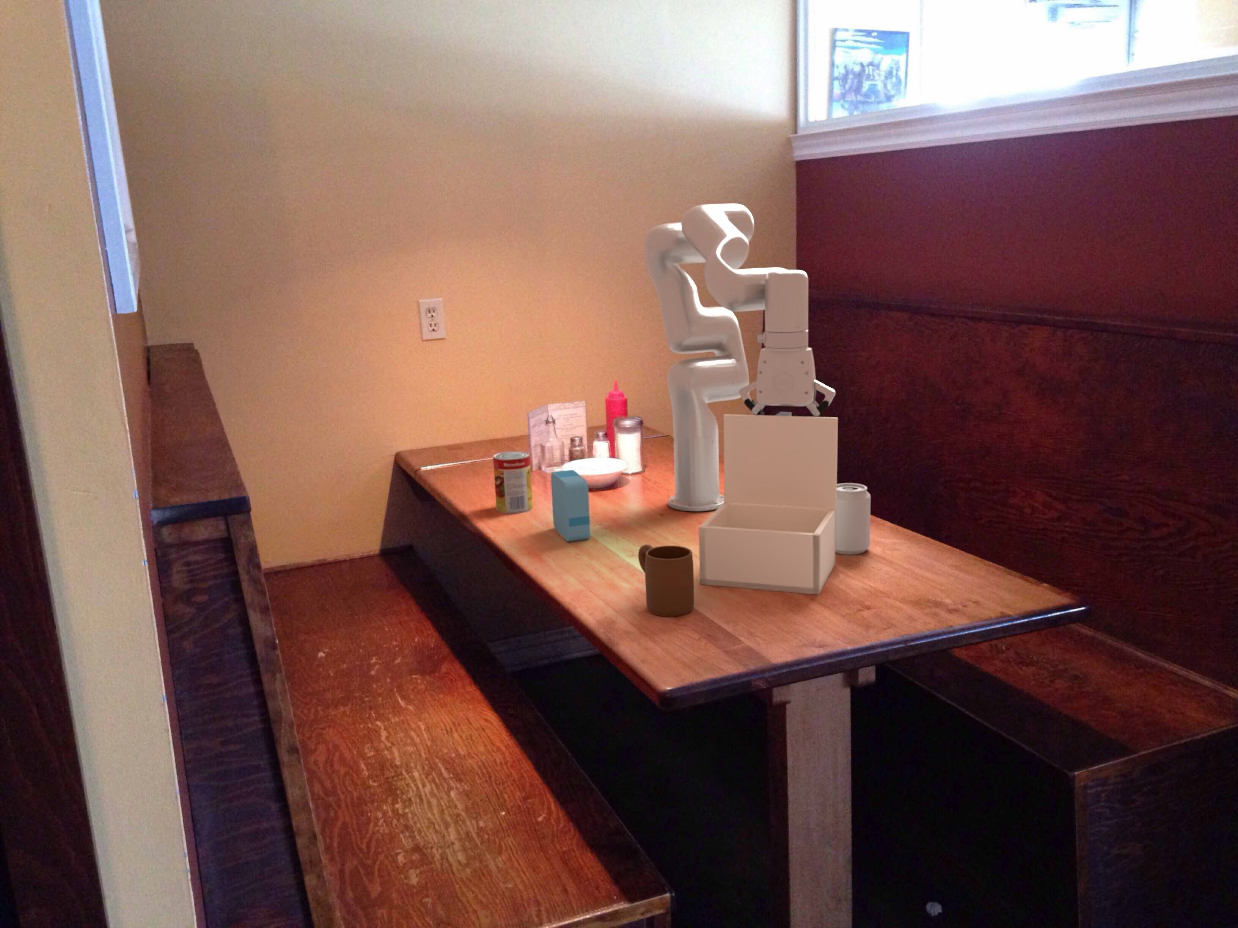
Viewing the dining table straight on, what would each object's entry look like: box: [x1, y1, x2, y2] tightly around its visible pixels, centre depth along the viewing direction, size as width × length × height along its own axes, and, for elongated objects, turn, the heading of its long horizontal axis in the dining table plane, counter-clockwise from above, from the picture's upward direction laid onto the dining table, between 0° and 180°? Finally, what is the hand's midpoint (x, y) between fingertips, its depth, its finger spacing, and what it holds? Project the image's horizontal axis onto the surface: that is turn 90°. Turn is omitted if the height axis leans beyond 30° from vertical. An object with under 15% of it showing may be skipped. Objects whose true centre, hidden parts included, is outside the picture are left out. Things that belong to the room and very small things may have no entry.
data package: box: [550, 469, 591, 543], centre depth 207 cm, size 12×4×12 cm, turn 18°
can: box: [835, 482, 872, 556], centre depth 191 cm, size 8×8×12 cm
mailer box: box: [698, 503, 836, 596], centre depth 179 cm, size 16×20×10 cm
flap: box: [723, 411, 839, 509], centre depth 187 cm, size 16×20×6 cm
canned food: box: [492, 450, 534, 514], centre depth 228 cm, size 8×8×12 cm
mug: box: [637, 544, 695, 617], centre depth 167 cm, size 12×8×9 cm, turn 32°
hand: (786, 435), depth 189 cm, fingers open, 9 cm apart
